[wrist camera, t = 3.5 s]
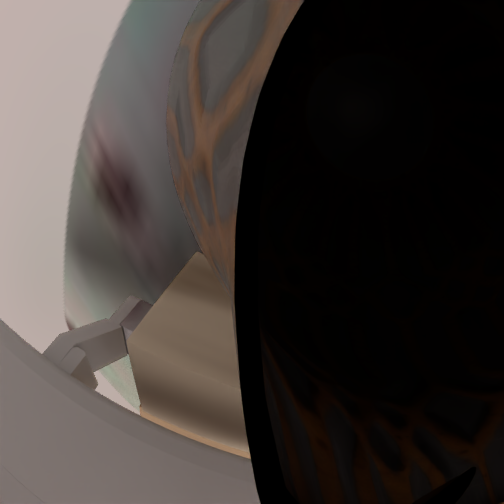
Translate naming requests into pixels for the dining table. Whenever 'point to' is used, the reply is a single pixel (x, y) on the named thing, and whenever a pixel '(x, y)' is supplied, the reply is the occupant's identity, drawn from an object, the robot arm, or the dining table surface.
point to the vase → (354, 237)
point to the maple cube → (191, 358)
